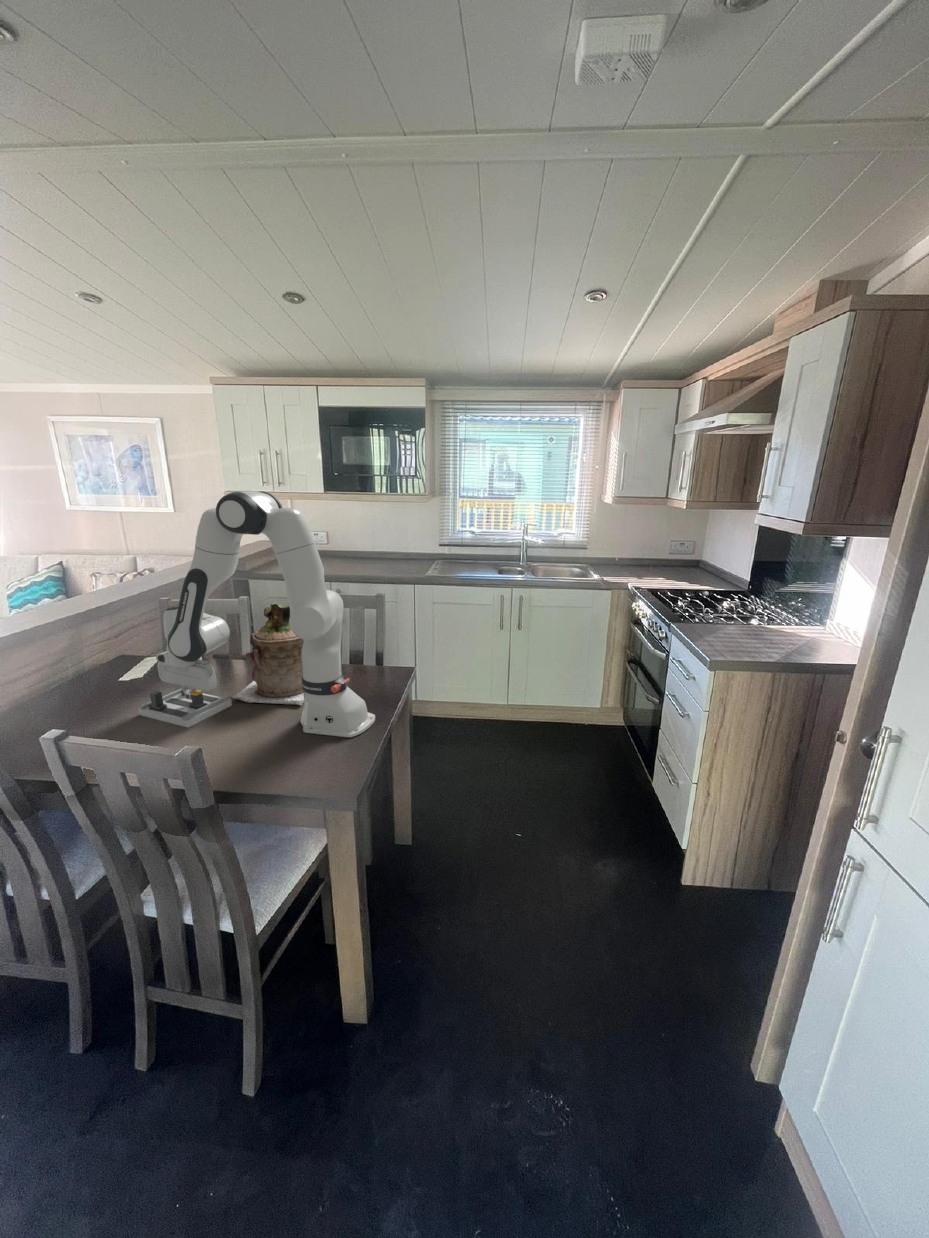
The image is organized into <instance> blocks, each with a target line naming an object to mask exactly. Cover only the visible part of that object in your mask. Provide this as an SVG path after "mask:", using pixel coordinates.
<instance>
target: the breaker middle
mask: <svg viewBox="0 0 929 1238" xmlns="http://www.w3.org/2000/svg"><path fill="white" fill-rule="evenodd" d="M202 693H203V691H201V690H195V691H193V692H191V697H192V702H191V703H189V706H192V707H197V708H201V707H204V706H206V705H207V703H204V702H203V695H202Z"/></svg>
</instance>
